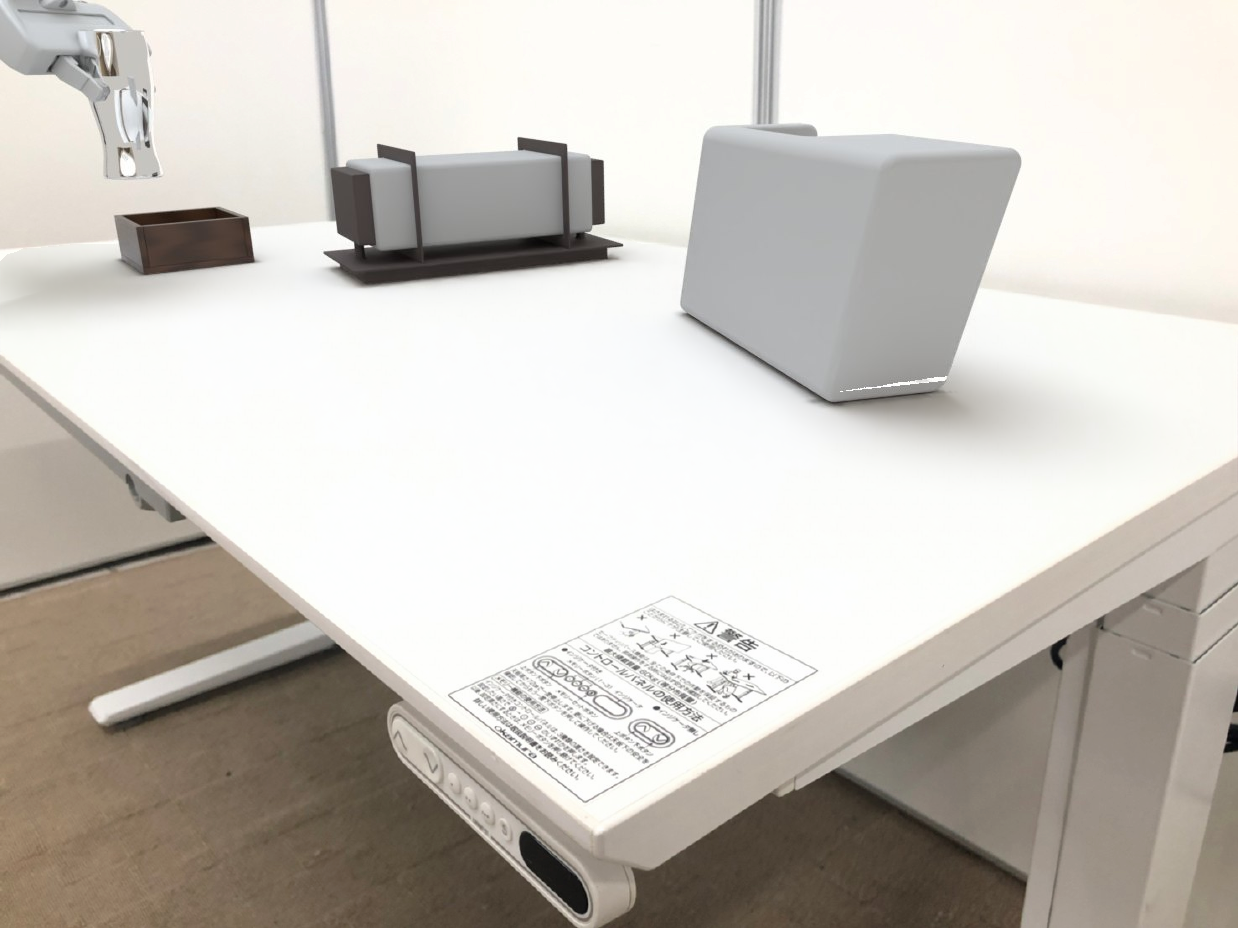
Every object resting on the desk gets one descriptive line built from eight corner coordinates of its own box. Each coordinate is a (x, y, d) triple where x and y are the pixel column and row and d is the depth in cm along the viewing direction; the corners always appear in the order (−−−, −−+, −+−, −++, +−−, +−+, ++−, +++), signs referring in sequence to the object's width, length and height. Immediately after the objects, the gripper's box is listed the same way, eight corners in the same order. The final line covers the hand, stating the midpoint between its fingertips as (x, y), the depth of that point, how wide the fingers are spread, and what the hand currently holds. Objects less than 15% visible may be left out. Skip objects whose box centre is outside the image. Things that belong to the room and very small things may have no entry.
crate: (144, 274, 130) (135, 227, 128) (121, 259, 141) (113, 215, 139) (254, 262, 137) (248, 216, 135) (225, 248, 148) (219, 206, 146)
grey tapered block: (909, 496, 87) (1030, 151, 68) (794, 512, 85) (886, 158, 65) (771, 302, 109) (833, -1, 90) (677, 309, 107) (720, -1, 87)
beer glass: (118, 173, 120) (95, 31, 115) (178, 174, 120) (158, 31, 115) (87, 180, 114) (60, 29, 108) (150, 180, 113) (127, 29, 108)
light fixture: (622, 140, 130) (341, 155, 115) (624, 259, 135) (355, 288, 120) (570, 134, 143) (311, 146, 128) (573, 243, 148) (324, 267, 133)
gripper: (77, 24, 123) (167, 113, 124) (-60, 17, 104) (48, 122, 106) (105, -19, 120) (196, 73, 122) (-30, -33, 102) (79, 75, 103)
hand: (126, 96), depth 114 cm, fingers closed on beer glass, 7 cm apart
